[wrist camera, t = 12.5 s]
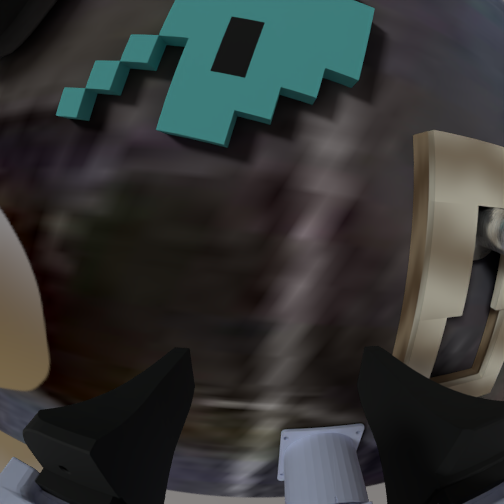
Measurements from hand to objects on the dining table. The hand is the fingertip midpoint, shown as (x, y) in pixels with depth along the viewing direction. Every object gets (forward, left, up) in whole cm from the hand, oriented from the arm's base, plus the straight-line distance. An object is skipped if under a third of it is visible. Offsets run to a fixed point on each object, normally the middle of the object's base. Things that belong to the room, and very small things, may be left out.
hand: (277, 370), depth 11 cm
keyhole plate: (0, -16, -9) cm, 19 cm away
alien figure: (+20, +3, -10) cm, 23 cm away
